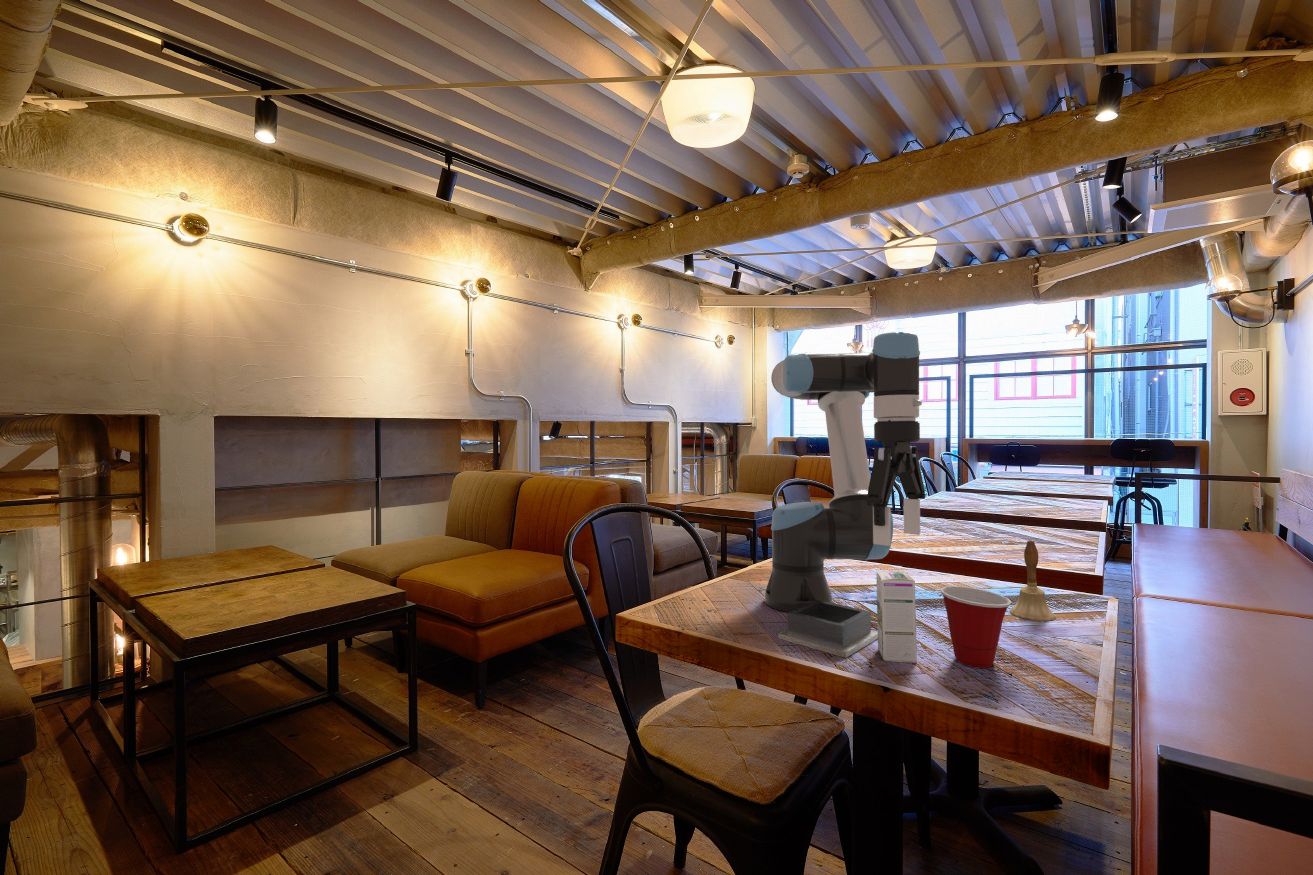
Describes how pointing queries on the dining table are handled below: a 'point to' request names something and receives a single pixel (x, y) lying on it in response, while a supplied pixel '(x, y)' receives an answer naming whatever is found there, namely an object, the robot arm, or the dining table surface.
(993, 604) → the plastic cup
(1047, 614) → the hand bell
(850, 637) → the grey shallow open box
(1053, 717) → the dining table surface
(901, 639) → the syrup box
